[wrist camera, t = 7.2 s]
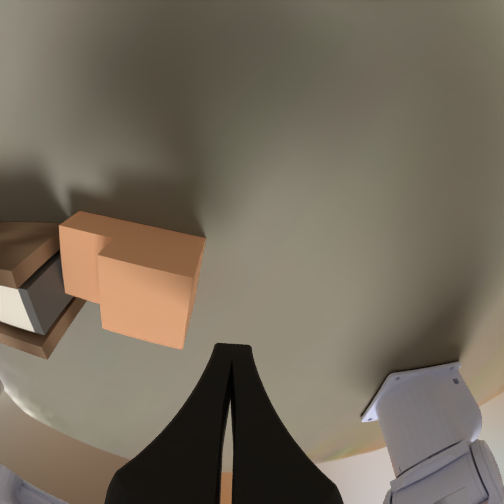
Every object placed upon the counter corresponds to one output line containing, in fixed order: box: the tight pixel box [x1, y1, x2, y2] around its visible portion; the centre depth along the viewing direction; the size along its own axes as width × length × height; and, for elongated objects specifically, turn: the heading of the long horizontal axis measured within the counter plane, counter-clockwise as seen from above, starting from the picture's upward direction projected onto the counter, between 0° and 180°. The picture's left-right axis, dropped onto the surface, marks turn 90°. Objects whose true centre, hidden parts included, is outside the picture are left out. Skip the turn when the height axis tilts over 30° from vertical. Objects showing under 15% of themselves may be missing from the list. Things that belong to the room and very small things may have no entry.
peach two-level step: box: [59, 211, 206, 350], centre depth 14 cm, size 8×4×4 cm, turn 76°
